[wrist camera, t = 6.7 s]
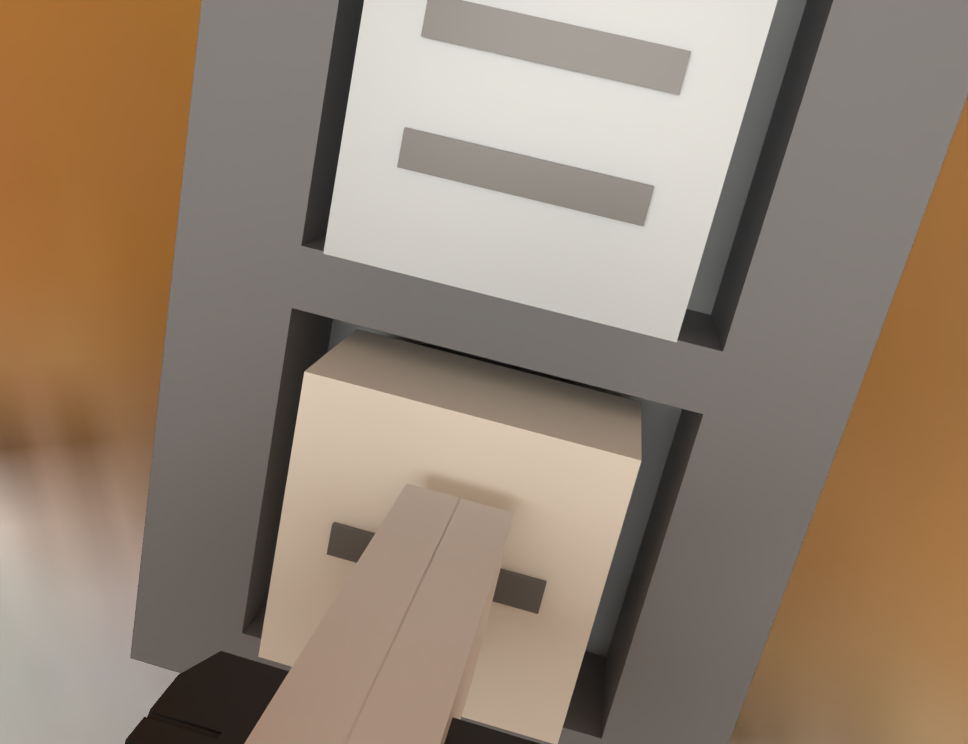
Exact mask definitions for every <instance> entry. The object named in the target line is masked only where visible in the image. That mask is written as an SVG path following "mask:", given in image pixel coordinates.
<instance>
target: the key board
mask: <svg viewBox="0 0 968 744" xmlns="http://www.w3.org/2000/svg"><path fill="white" fill-rule="evenodd" d="M363 4H364V0H202V3H201V12H200V22H199V31H198V40H197V49H196V58H195V68H194V77H193V86H192V95H191V105H190V114H189V123H188V132H187V141H186V151H185V160H184V169H183V178H182V187H181V197H180V206H179V215H178V224H177V234H176V243H175V252H174V261H173V270H172V280H171V289H170V298H169V307H168V316H167V326H166V335H165V344H164V353H163V363H162V372H161V381H160V390H159V399H158V409H157V418H156V427H155V436H154V445H153V455H152V464H151V473H150V482H149V492H148V501H147V510H146V519H145V528H144V538H143V547H142V556H141V565H140V574H139V584H138V593H137V602H136V611H135V621H134V630H133V639H132V648H131V657H130V658H132V659H135V660H139V661H142V662H145V663H149V664H152V665H155V666H159V667H162V668H165V669H169V670H172V671H176V672H179V673H182V672H184V671H186V670H188V669H190V668H191V667H193V666H195V665H197V664H198V663H200V662H202V661H204V660H205V659H207V658H209V657H211V656H212V655H214V654H216V653H218V652H220V651H223V652H227V653H230V654H233V655H237V656H240V657H243V658H247V659H250V660H253V661H257V662H260V663H263V664H267V665H270V666H273V667H276V668H280V669H283V670H286V671H290V669H291V668H292V667H291V666H288V665H285V664H281V663H278V662H274V661H271V660H268V659H264V658H261V657H258V655H259V649H260V643H261V637H262V631H263V624H264V618H265V612H266V606H267V600H268V593H269V587H270V581H271V575H272V569H273V562H274V556H275V550H276V544H277V538H278V531H279V525H280V519H281V513H282V507H283V500H284V494H285V488H286V482H287V476H288V469H289V463H290V457H291V451H292V445H293V438H294V432H295V426H296V420H297V414H298V407H299V401H300V395H301V389H302V383H303V376H304V371H306V370H307V369H308V368H309V367H310V366H312V365H313V364H314V363H315V362H317V361H318V360H319V359H320V358H322V357H323V356H324V355H325V354H326V353H328V352H329V351H330V350H331V349H333V348H334V347H335V346H336V345H338V344H339V343H340V342H341V341H342V340H344V339H345V338H346V337H347V336H349V335H350V334H351V333H352V332H354V331H355V330H356V329H360V330H363V331H367V332H371V333H375V334H379V335H383V336H387V337H390V338H394V339H398V340H402V341H406V342H410V343H414V344H418V345H421V346H425V347H429V348H433V349H437V350H441V351H445V352H449V353H452V354H456V355H460V356H464V357H468V358H472V359H476V360H480V361H483V362H487V363H491V364H495V365H499V366H503V367H507V368H510V369H514V370H518V371H522V372H526V373H530V374H534V375H538V376H541V377H545V378H549V379H553V380H557V381H561V382H565V383H569V384H572V385H576V386H580V387H584V388H588V389H592V390H596V391H599V392H603V393H607V394H611V395H615V396H619V397H623V398H627V399H630V400H634V401H638V402H641V450H642V461H641V464H640V467H639V471H638V474H637V478H636V481H635V484H634V488H633V491H632V495H631V498H630V501H629V505H628V508H627V511H626V515H625V518H624V522H623V525H622V528H621V532H620V535H619V538H618V542H617V545H616V549H615V552H614V555H613V559H612V562H611V566H610V569H609V572H608V576H607V579H606V582H605V586H604V589H603V593H602V596H601V599H600V603H599V606H598V609H597V613H596V616H595V620H594V623H593V626H592V630H591V633H590V637H589V640H588V643H587V647H586V650H585V653H584V657H583V660H582V664H581V667H580V670H579V674H578V677H577V680H576V684H575V687H574V691H573V694H572V697H571V701H570V704H569V708H568V711H567V714H566V718H565V721H564V724H563V728H562V731H561V735H560V738H559V741H558V744H729V741H730V738H731V735H732V733H733V730H734V727H735V725H736V722H737V719H738V716H739V714H740V711H741V708H742V706H743V703H744V700H745V697H746V695H747V692H748V689H749V687H750V684H751V681H752V678H753V676H754V673H755V670H756V668H757V665H758V662H759V660H760V657H761V654H762V651H763V649H764V646H765V643H766V641H767V638H768V635H769V632H770V630H771V627H772V624H773V622H774V619H775V616H776V613H777V611H778V608H779V605H780V603H781V600H782V597H783V594H784V592H785V589H786V586H787V584H788V581H789V578H790V576H791V573H792V570H793V567H794V565H795V562H796V559H797V557H798V554H799V551H800V548H801V546H802V543H803V540H804V538H805V535H806V532H807V529H808V527H809V524H810V521H811V519H812V516H813V513H814V510H815V508H816V505H817V502H818V500H819V497H820V494H821V492H822V489H823V486H824V483H825V481H826V478H827V475H828V473H829V470H830V467H831V464H832V462H833V459H834V456H835V454H836V451H837V448H838V445H839V443H840V440H841V437H842V435H843V432H844V429H845V426H846V424H847V421H848V418H849V416H850V413H851V410H852V408H853V405H854V402H855V399H856V397H857V394H858V391H859V389H860V386H861V383H862V380H863V378H864V375H865V372H866V370H867V367H868V364H869V361H870V359H871V356H872V353H873V351H874V348H875V345H876V342H877V340H878V337H879V334H880V332H881V329H882V326H883V323H884V321H885V318H886V315H887V313H888V310H889V307H890V305H891V302H892V299H893V296H894V294H895V291H896V288H897V286H898V283H899V280H900V277H901V275H902V272H903V269H904V267H905V264H906V261H907V258H908V256H909V253H910V250H911V248H912V245H913V242H914V239H915V237H916V234H917V231H918V229H919V226H920V223H921V221H922V218H923V215H924V212H925V210H926V207H927V204H928V202H929V199H930V196H931V193H932V191H933V188H934V185H935V183H936V180H937V177H938V174H939V172H940V169H941V166H942V164H943V161H944V158H945V155H946V153H947V150H948V147H949V145H950V142H951V139H952V137H953V134H954V131H955V128H956V126H957V123H958V120H959V118H960V115H961V112H962V109H963V107H964V104H965V101H966V99H967V96H968V0H778V1H777V4H776V8H775V11H774V15H773V18H772V21H771V25H770V28H769V31H768V35H767V38H766V42H765V45H764V48H763V52H762V55H761V58H760V62H759V65H758V69H757V72H756V75H755V79H754V82H753V86H752V89H751V92H750V96H749V99H748V102H747V106H746V109H745V113H744V116H743V119H742V123H741V126H740V129H739V133H738V136H737V140H736V143H735V146H734V150H733V153H732V157H731V160H730V163H729V167H728V170H727V173H726V177H725V180H724V184H723V187H722V190H721V194H720V197H719V200H718V204H717V207H716V211H715V214H714V217H713V221H712V224H711V227H710V231H709V234H708V238H707V241H706V244H705V248H704V251H703V255H702V258H701V261H700V265H699V268H698V271H697V275H696V278H695V282H694V285H693V288H692V292H691V295H690V298H689V302H688V305H687V309H686V312H685V315H684V319H683V322H682V326H681V329H680V332H679V336H678V339H677V342H673V341H669V340H665V339H661V338H657V337H653V336H649V335H645V334H641V333H637V332H633V331H629V330H625V329H621V328H617V327H613V326H609V325H605V324H601V323H597V322H593V321H589V320H585V319H581V318H577V317H573V316H569V315H565V314H561V313H557V312H553V311H550V310H546V309H542V308H538V307H534V306H530V305H526V304H522V303H518V302H514V301H510V300H506V299H502V298H498V297H494V296H490V295H486V294H482V293H478V292H474V291H470V290H466V289H462V288H458V287H454V286H450V285H446V284H442V283H438V282H434V281H430V280H426V279H422V278H418V277H414V276H410V275H406V274H402V273H398V272H394V271H390V270H386V269H382V268H378V267H375V266H371V265H367V264H363V263H359V262H355V261H351V260H347V259H343V258H339V257H335V256H331V255H327V254H323V252H324V246H325V240H326V234H327V228H328V221H329V215H330V209H331V203H332V197H333V190H334V184H335V178H336V172H337V166H338V159H339V153H340V147H341V141H342V135H343V128H344V122H345V116H346V110H347V104H348V97H349V91H350V85H351V79H352V73H353V66H354V60H355V54H356V48H357V42H358V35H359V29H360V23H361V17H362V11H363ZM461 720H464V721H467V722H470V723H473V724H477V725H480V726H483V727H487V728H490V729H493V730H497V731H500V732H503V733H507V734H510V735H513V736H517V737H520V738H523V739H527V740H530V741H533V742H536V743H540V744H552V743H549V742H545V741H542V740H539V739H535V738H532V737H528V736H525V735H522V734H518V733H515V732H511V731H508V730H505V729H501V728H498V727H495V726H491V725H488V724H484V723H481V722H478V721H474V720H471V719H467V718H464V717H461Z"/></svg>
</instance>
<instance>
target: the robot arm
mask: <svg viewBox="0 0 968 744" xmlns="http://www.w3.org/2000/svg"><path fill="white" fill-rule="evenodd" d="M513 517H514V513H513V512H509V511H505V510H502V509H498V508H494V507H491V506H487V505H484V504H480V503H476V502H473V501H469V500H466V499H462V498H458V497H455V496H451V495H448V494H444V493H440V492H437V491H433V490H429V489H426V488H422V487H419V486H415V485H411V484H408V483H406V485H405V487H404V488H403V490H402V491H401V493H400V495H399V496H398V498H397V499H396V501H395V503H394V504H393V506H392V507H391V509H390V511H389V512H388V514H387V516H386V517H385V519H384V520H383V522H382V524H381V525H380V527H379V528H378V530H377V532H376V533H375V535H374V536H373V538H372V540H371V541H370V543H369V544H368V546H367V548H366V549H365V551H364V552H363V554H362V556H361V557H360V559H359V560H358V562H357V564H356V565H355V567H354V568H353V570H352V572H351V573H350V575H349V576H348V578H347V580H346V581H345V583H344V584H343V586H342V588H341V589H340V591H339V592H338V594H337V596H336V597H335V599H334V601H333V602H332V604H331V605H330V607H329V609H328V610H327V612H326V613H325V615H324V617H323V618H322V620H321V621H320V623H319V625H318V626H317V628H316V629H315V631H314V633H313V634H312V636H311V637H310V639H309V641H308V642H307V644H306V645H305V647H304V649H303V650H302V652H301V653H300V655H299V657H298V658H297V660H296V661H295V663H294V665H293V666H292V668H291V669H290V671H286V670H283V669H280V668H276V667H273V666H270V665H267V664H263V663H260V662H257V661H253V660H250V659H247V658H243V657H240V656H237V655H233V654H230V653H227V652H223V651H220V652H218V653H216V654H214V655H212V656H211V657H209V658H207V659H205V660H204V661H202V662H200V663H198V664H197V665H195V666H193V667H191V668H190V669H188V670H186V671H184V672H182V673H181V674H179V675H178V676H177V677H176V678H175V680H174V681H173V682H172V683H171V685H170V686H169V687H168V688H167V690H166V691H165V692H164V693H163V694H162V696H161V697H160V698H159V699H158V701H157V702H156V703H155V704H154V706H153V707H152V708H151V709H150V712H149V715H148V717H147V718H146V717H144V718H143V719H142V720H141V722H140V723H139V724H138V725H137V727H136V728H135V729H134V730H133V732H132V733H131V734H130V735H129V736H128V738H127V739H126V741H125V744H540V743H536V742H533V741H530V740H527V739H523V738H520V737H517V736H513V735H510V734H507V733H503V732H500V731H497V730H493V729H490V728H487V727H483V726H480V725H477V724H473V723H470V722H467V721H464V720H461V716H462V713H463V710H464V706H465V703H466V700H467V696H468V693H469V690H470V687H471V683H472V680H473V676H474V672H475V668H476V664H477V660H478V656H479V652H480V648H481V644H482V640H483V636H484V632H485V628H486V624H487V620H488V616H489V612H490V608H491V604H492V600H493V596H494V592H495V589H496V585H497V581H498V577H499V573H500V569H501V565H502V561H503V557H504V553H505V549H506V545H507V541H508V537H509V533H510V529H511V525H512V521H513Z"/></svg>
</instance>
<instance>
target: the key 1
mask: <svg viewBox="0 0 968 744" xmlns="http://www.w3.org/2000/svg"><path fill="white" fill-rule="evenodd" d="M641 461H642V450H641V402H638V401H634V400H630V399H627V398H623V397H619V396H615V395H611V394H607V393H603V392H599V391H596V390H592V389H588V388H584V387H580V386H576V385H572V384H569V383H565V382H561V381H557V380H553V379H549V378H545V377H541V376H538V375H534V374H530V373H526V372H522V371H518V370H514V369H510V368H507V367H503V366H499V365H495V364H491V363H487V362H483V361H480V360H476V359H472V358H468V357H464V356H460V355H456V354H452V353H449V352H445V351H441V350H437V349H433V348H429V347H425V346H421V345H418V344H414V343H410V342H406V341H402V340H398V339H394V338H390V337H387V336H383V335H379V334H375V333H371V332H367V331H363V330H360V329H356V330H355V331H354V332H352V333H351V334H350V335H349V336H347V337H346V338H345V339H344V340H342V341H341V342H340V343H339V344H338V345H336V346H335V347H334V348H333V349H331V350H330V351H329V352H328V353H326V354H325V355H324V356H323V357H322V358H320V359H319V360H318V361H317V362H315V363H314V364H313V365H312V366H310V367H309V368H308V369H307V370H306V371H304V376H303V383H302V389H301V395H300V401H299V407H298V414H297V420H296V426H295V432H294V438H293V445H292V451H291V457H290V463H289V469H288V476H287V482H286V488H285V494H284V500H283V507H282V513H281V519H280V525H279V531H278V538H277V544H276V550H275V556H274V562H273V569H272V575H271V581H270V587H269V593H268V600H267V606H266V612H265V618H264V624H263V631H262V637H261V643H260V649H259V655H258V657H261V658H264V659H268V660H271V661H274V662H278V663H281V664H285V665H288V666H291V667H292V666H293V665H294V663H295V661H296V660H297V658H298V657H299V655H300V653H301V652H302V650H303V649H304V647H305V645H306V644H307V642H308V641H309V639H310V637H311V636H312V634H313V633H314V631H315V629H316V628H317V626H318V625H319V623H320V621H321V620H322V618H323V617H324V615H325V613H326V612H327V610H328V609H329V607H330V605H331V604H332V602H333V601H334V599H335V597H336V596H337V594H338V592H339V591H340V589H341V588H342V586H343V584H344V583H345V581H346V580H347V578H348V576H349V575H350V573H351V572H352V570H353V568H354V567H355V565H356V564H357V562H358V560H359V559H360V557H361V556H362V554H363V552H364V551H365V549H366V548H367V546H368V544H369V543H370V541H371V540H372V538H373V536H374V535H375V533H376V532H377V530H378V528H379V527H380V525H381V524H382V522H383V520H384V519H385V517H386V516H387V514H388V512H389V511H390V509H391V507H392V506H393V504H394V503H395V501H396V499H397V498H398V496H399V495H400V493H401V491H402V490H403V488H404V487H405V485H406V483H408V484H411V485H415V486H419V487H422V488H426V489H429V490H433V491H437V492H440V493H444V494H448V495H451V496H455V497H458V498H462V499H466V500H469V501H473V502H476V503H480V504H484V505H487V506H491V507H494V508H498V509H502V510H505V511H509V512H513V513H514V517H513V521H512V525H511V529H510V533H509V537H508V541H507V545H506V549H505V553H504V557H503V561H502V565H501V569H500V573H499V577H498V581H497V585H496V589H495V592H494V596H493V600H492V604H491V608H490V612H489V616H488V620H487V624H486V628H485V632H484V636H483V640H482V644H481V648H480V652H479V656H478V660H477V664H476V668H475V672H474V676H473V680H472V683H471V687H470V690H469V693H468V696H467V700H466V703H465V706H464V710H463V713H462V716H461V717H464V718H467V719H471V720H474V721H478V722H481V723H484V724H488V725H491V726H495V727H498V728H501V729H505V730H508V731H511V732H515V733H518V734H522V735H525V736H528V737H532V738H535V739H539V740H542V741H545V742H549V743H552V744H558V741H559V738H560V735H561V731H562V728H563V724H564V721H565V718H566V714H567V711H568V708H569V704H570V701H571V697H572V694H573V691H574V687H575V684H576V680H577V677H578V674H579V670H580V667H581V664H582V660H583V657H584V653H585V650H586V647H587V643H588V640H589V637H590V633H591V630H592V626H593V623H594V620H595V616H596V613H597V609H598V606H599V603H600V599H601V596H602V593H603V589H604V586H605V582H606V579H607V576H608V572H609V569H610V566H611V562H612V559H613V555H614V552H615V549H616V545H617V542H618V538H619V535H620V532H621V528H622V525H623V522H624V518H625V515H626V511H627V508H628V505H629V501H630V498H631V495H632V491H633V488H634V484H635V481H636V478H637V474H638V471H639V467H640V464H641Z"/></svg>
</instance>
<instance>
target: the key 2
mask: <svg viewBox="0 0 968 744" xmlns="http://www.w3.org/2000/svg"><path fill="white" fill-rule="evenodd" d="M777 1H778V0H364V4H363V11H362V17H361V23H360V29H359V35H358V42H357V48H356V54H355V60H354V66H353V73H352V79H351V85H350V91H349V97H348V104H347V110H346V116H345V122H344V128H343V135H342V141H341V147H340V153H339V159H338V166H337V172H336V178H335V184H334V190H333V197H332V203H331V209H330V215H329V221H328V228H327V234H326V240H325V246H324V252H323V254H327V255H331V256H335V257H339V258H343V259H347V260H351V261H355V262H359V263H363V264H367V265H371V266H375V267H378V268H382V269H386V270H390V271H394V272H398V273H402V274H406V275H410V276H414V277H418V278H422V279H426V280H430V281H434V282H438V283H442V284H446V285H450V286H454V287H458V288H462V289H466V290H470V291H474V292H478V293H482V294H486V295H490V296H494V297H498V298H502V299H506V300H510V301H514V302H518V303H522V304H526V305H530V306H534V307H538V308H542V309H546V310H550V311H553V312H557V313H561V314H565V315H569V316H573V317H577V318H581V319H585V320H589V321H593V322H597V323H601V324H605V325H609V326H613V327H617V328H621V329H625V330H629V331H633V332H637V333H641V334H645V335H649V336H653V337H657V338H661V339H665V340H669V341H673V342H677V339H678V336H679V332H680V329H681V326H682V322H683V319H684V315H685V312H686V309H687V305H688V302H689V298H690V295H691V292H692V288H693V285H694V282H695V278H696V275H697V271H698V268H699V265H700V261H701V258H702V255H703V251H704V248H705V244H706V241H707V238H708V234H709V231H710V227H711V224H712V221H713V217H714V214H715V211H716V207H717V204H718V200H719V197H720V194H721V190H722V187H723V184H724V180H725V177H726V173H727V170H728V167H729V163H730V160H731V157H732V153H733V150H734V146H735V143H736V140H737V136H738V133H739V129H740V126H741V123H742V119H743V116H744V113H745V109H746V106H747V102H748V99H749V96H750V92H751V89H752V86H753V82H754V79H755V75H756V72H757V69H758V65H759V62H760V58H761V55H762V52H763V48H764V45H765V42H766V38H767V35H768V31H769V28H770V25H771V21H772V18H773V15H774V11H775V8H776V4H777Z"/></svg>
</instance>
